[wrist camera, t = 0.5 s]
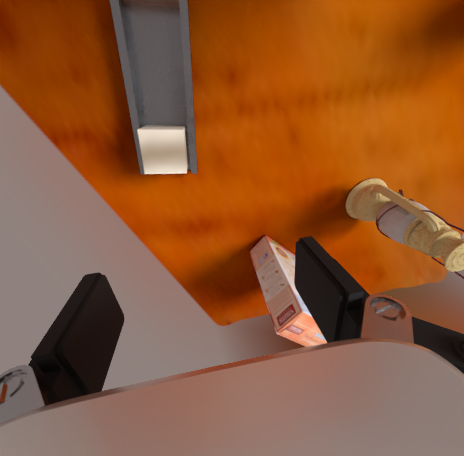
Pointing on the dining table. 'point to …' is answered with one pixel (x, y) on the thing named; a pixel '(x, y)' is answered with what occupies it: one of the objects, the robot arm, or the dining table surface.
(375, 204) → the lantern
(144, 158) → the block
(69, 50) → the dining table surface
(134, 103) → the grey shallow tray
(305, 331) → the cracker box
